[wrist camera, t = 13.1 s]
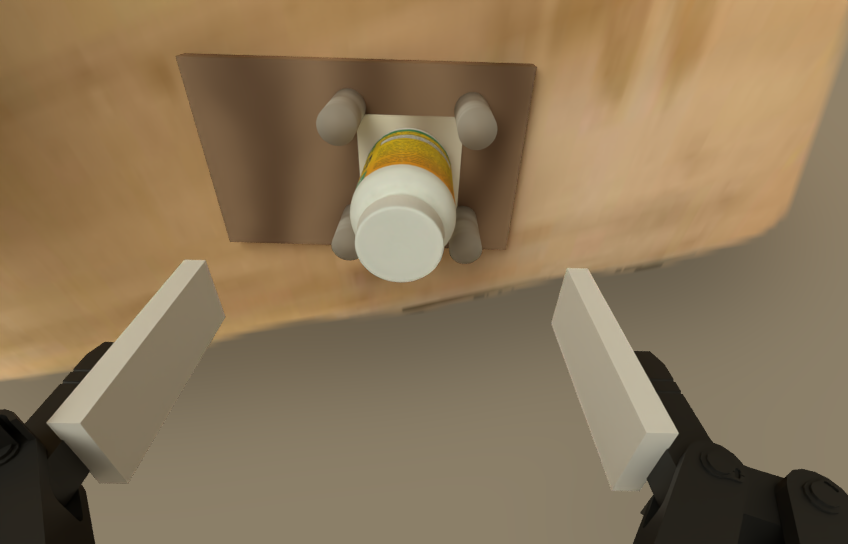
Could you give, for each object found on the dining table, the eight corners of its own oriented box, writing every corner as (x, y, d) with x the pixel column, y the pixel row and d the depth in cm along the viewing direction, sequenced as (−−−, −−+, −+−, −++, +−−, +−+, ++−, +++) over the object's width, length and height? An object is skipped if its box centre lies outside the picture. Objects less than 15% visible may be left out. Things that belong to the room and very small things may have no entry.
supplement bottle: (449, 206, 27) (456, 296, 20) (370, 206, 28) (345, 295, 20) (453, 124, 24) (463, 193, 16) (363, 124, 24) (331, 192, 17)
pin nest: (235, 234, 30) (205, 274, 26) (184, 53, 23) (132, 68, 19) (503, 242, 30) (515, 282, 26) (532, 63, 23) (554, 81, 19)
